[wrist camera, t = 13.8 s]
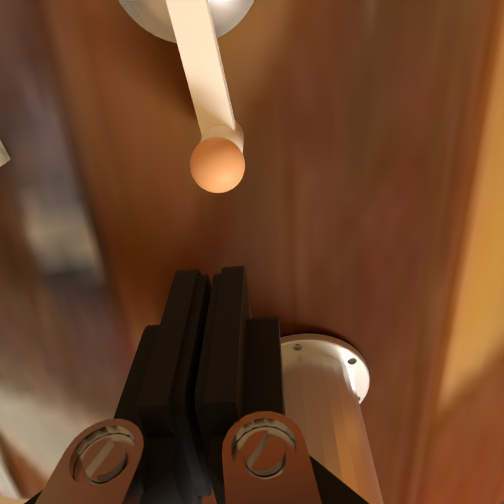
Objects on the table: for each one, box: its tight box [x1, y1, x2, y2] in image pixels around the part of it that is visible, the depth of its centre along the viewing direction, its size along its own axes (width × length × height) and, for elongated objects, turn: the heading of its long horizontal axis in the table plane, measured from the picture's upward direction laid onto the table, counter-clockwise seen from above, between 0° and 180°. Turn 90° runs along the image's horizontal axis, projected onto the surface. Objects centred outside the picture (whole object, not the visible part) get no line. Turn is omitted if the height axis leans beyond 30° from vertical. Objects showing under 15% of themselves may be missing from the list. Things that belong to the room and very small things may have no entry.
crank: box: [166, 0, 245, 193], centre depth 22 cm, size 4×13×7 cm, turn 11°
